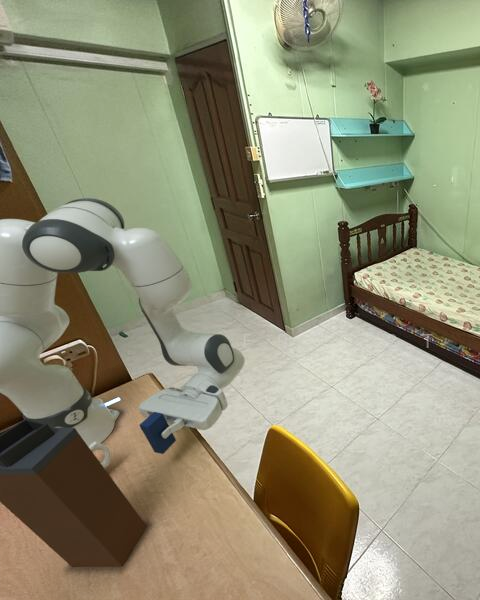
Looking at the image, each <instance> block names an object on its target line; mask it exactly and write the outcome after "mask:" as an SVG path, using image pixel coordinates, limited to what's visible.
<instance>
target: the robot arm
mask: <svg viewBox="0 0 480 600" xmlns="http://www.w3.org/2000/svg"><path fill="white" fill-rule="evenodd" d="M111 266H112V267H113V266H114V267H115V268H117V269H118V270H119V271H121V273H122V274H123V275H124V277H125V278H126V279H127V281H128V282H129V284H130V286H131V287H132V288H133V289H134V291H135V292H136V294H137V296H138V304H139V308H140V309H141V312H142V314H143V316H144V317H145V320H146V321H147V323H148V324H149V326H150V327H151V329H152V331H153V333H154V335H155V336H156V338H157V340H158V343H159V344H160V349H161V353H162V356H163V358H164V360H165V361H166V363H168V364H169V365H170V366H176V367H186V366H188V367H196V368H197V369H198V371H197V373H195V374H194V375H193V376H191V378H189V379H188V380H187V381H186V382H185V383H184V384H182V385H181V386H180V388H177V387H176V388H175V387H173V386H171V387H168V388H163V389H159V391H156V392H155V393H153V394H152V395H150V396H149V397H147V398H146V399H144V400H143V401H142V402H141V403H139V405H138V410H139V413H140V415H141V417H144V418H148V417H149V416H150V415H151V414H152V413H153V412H158V413H162V414H163V415H164V417H165V419H166V421H167V423H170V425H169V427H167V428H165V427H164V428H163V429H162V430H161V431H160V432H159V433H158V435H159V437H161V438H167V437H168V436H169V435H170V434H171V433H173V434H174V433H175V432H177V431H180V430H181V429H182V428H183V427H187V428H192V429H197V430H201V431H206V430H208V429H211V428H212V427H213V426H214V425H215V424H216V422H217V421H218V420H219V419H220V417H221V416H222V415H223V411H225V410H226V409H227V408H228V400H227V397H226V395H225V392H224V390H223V389H225V388H226V387H228V386H229V385H230V384H231V383H232V382H234V380H235V379H236V378H237V377H238V376H239V374H240V373H241V371H242V370H243V368H244V366H245V362H246V359H245V356H244V354H243V353H242V352H241V351H240V350H239V349H237V348H234V347H233V346H232V344H231V342H230V340H229V339H228V338H227V336H225V335H224V334H219V333H209V332H206V333H205V332H193V331H189V330H188V329H186V328H183V327H182V325H181V323H180V320H179V319H178V317H177V315H176V313H175V311H174V310H173V309H174V307H176V306H178V305H179V304H181V303H182V302H183V301H184V300H186V299H187V298H188V296H189V295H190V293H191V290H192V285H193V283H192V281H191V277H190V275H189V273H188V271H187V269H186V268H185V266H184V264H183V263H182V261H181V260H180V258H179V257H178V255H177V254H176V253H175V251H174V250H173V248H172V247H171V246H170V245H169V243H167V241H166V240H165V239H164V238H163V237H162V236H161V235H160V234H159V233H158V232H157V231H155V230H154V229H151V228H148V227H133V228H128V229H127V228H125V220H124V217H123V215H122V214H121V212H120V211H119V210H118V209H117V208H116V207H115V206H113V205H112V204H110V203H108V202H106V201H105V200H101V199H97V198H90V197H89V198H88V197H87V198H86V197H85V198H84V197H83V198H78V199H73V200H71V201H68V202H67V203H65V204H63V205H61V206H58V207H56V208H54V209H52V210H51V211H49V212H48V213H47V214H46V215H45V216H43V217H42V218H40V219H39V220H38V221H36V222H35V221H31V220H26V219H20V218H2V219H0V394H1V395H4V396H5V397H7V398H8V399H9V400H10V401H11V402H12V403H13V404H14V406H16V408H17V409H18V410H19V411H20V412H21V413H22V418H23V420H24V419H32V420H36V421H40V422H44V423H47V424H48V426H49V427H50V428H75V429H76V430H77V432H78V433H79V435H80V436H81V437H82V439H83V440H84V441H85V443H86V444H87V445H88V447H89V446H90V444H92V443H93V442H95V441H96V442H97V443H100V444H102V443H103V442H104V441H105V440H106V439H107V438H108V437H109V436H110V435H111V433H112V432H113V430H114V428H115V425H116V420H117V419H118V418H119V416H120V414H121V412H120V411H118V410H117V409H113V408H112V409H111V408H108V407H107V406H110V405H112V404H115V403H117V402H119V401H121V398H120V397H117V398H114V399H112V400H110V401H108V402H104V401H103V400H102V399H101V398H97V397H92V396H91V393H90V392H89V390H87V389H86V388H85V387H84V386H82V385H81V383H80V382H79V380H78V379H77V377H76V376H75V374H74V373H73V371H72V369H70V368H69V367H68V366H65V365H62V364H55V363H54V364H44V363H43V362H42V361H41V359H40V356H41V354H42V353H44V352H45V351H46V350H47V349H48V348H50V347H51V346H52V345H54V343H56V342H57V341H58V340H59V339H60V338H61V336H63V335H64V333H65V331H66V330H67V328H68V326H69V325H70V317H69V315H68V313H67V312H66V311H65V310H64V309H63V308H62V307H60V306H58V305H57V304H56V302H55V298H56V297H55V296H56V288H57V280H58V274H65V275H66V274H67V275H68V274H78V273H79V274H80V273H85V272H102V271H106V270H108V269H109V268H110V267H111Z"/></svg>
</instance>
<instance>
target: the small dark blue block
mask: <svg viewBox="0 0 480 600" xmlns="http://www.w3.org/2000/svg"><path fill="white" fill-rule="evenodd" d="M138 426H139V427H140V429H141V431H142V432H143V434H144V437H145V438H146V441H148V443H149V445H150V447H151V448H152V450H153V452H154V453H156V454H161V455H164V454H165V453H166V452H167V451H168V450H169V449H170V448H171V447H172V446H173V445H174V443H176V441H177V439H176V436H175V435H174V432H173V433H171V434H170V435H169V436H168V437H167V438H161V437H159V435H158V433H159V432H160V431H161V430H162V429H163V428H164V427H165V428H167V427H169V426H170V425H169V422H167V421H166V419H165V417H164V415H163V414H162V413H158V412H153V413H152V414H151V415H150V416H149V417H146V418H145V419H144V420H143V421H142V422H141V423H139V425H138Z"/></svg>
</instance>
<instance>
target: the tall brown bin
mask: <svg viewBox="0 0 480 600" xmlns="http://www.w3.org/2000/svg"><path fill="white" fill-rule="evenodd" d="M0 503H1V504H2V505H3V506H4V507H5V508H6V509H7V510H9V512H11V513H12V514H13V516H15V517H16V518H17V519H18V520H19V521H21V523H23V524H24V525H25V526H26V527H27V528H28V529H29V530H30V531H31V532H32V533H34V534H35V535H36V536H37V537H38V538H39V539H41V540H42V541H43V542H44V543H45V544H46V545H47V546H48V547H49V548H50V549H52V550H53V552H54V553H55V554H57V555H58V556H59V557H60V558H61V559H62V560H63V561H64V562H66V564H68V565H69V566H70V567H72V568H86V567H87V568H90V567H91V568H94V567H95V568H96V567H98V568H99V567H101V568H105V567H107V568H108V567H123V566H124V565H125V563H126V562H127V560H128V558H129V557H130V556H131V553H132V552H133V550H134V548H135V547H136V545H137V543H138V542H139V540H140V539H141V537H142V536H143V534H144V532H145V530H146V529H147V527H148V525H147V524H146V523H145V521H144V520H143V519H142V517H141V516H140V515H139V513H138V512H137V511H136V509H135V508H134V507H133V505H132V503H131V502H130V501H129V500H128V498H127V497H126V496H125V494H124V493H123V492H122V490H121V489H120V487H119V486H118V485H117V483H116V482H115V481H114V479H113V478H112V477H111V476H110V473H108V471H107V469H105V468H104V467H103V466H102V465H101V462H100V461H99V459H98V458H97V456H96V455H95V454H94V452H93V451H91V450H90V448H89V447H88V445H87V444H86V443H85V441H84V440H83V439H82V437H81V436H80V435H79V433H78V432H77V430H76V429H75V428H50V427H49V426H48V424H47V423H44V422H40V421H36V420H32V419H24V418H23V420H21V421H20V422H18V423H16V424H15V425H14V426H12V427H10V428H9V429H7V430H5V431H4V432H2V433H1V434H0Z"/></svg>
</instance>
